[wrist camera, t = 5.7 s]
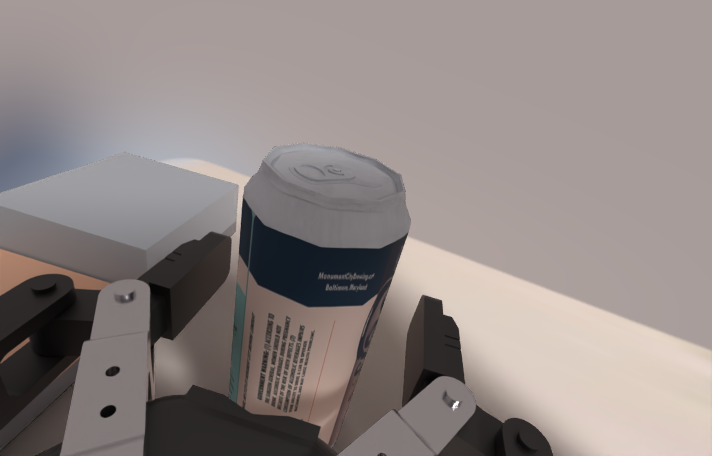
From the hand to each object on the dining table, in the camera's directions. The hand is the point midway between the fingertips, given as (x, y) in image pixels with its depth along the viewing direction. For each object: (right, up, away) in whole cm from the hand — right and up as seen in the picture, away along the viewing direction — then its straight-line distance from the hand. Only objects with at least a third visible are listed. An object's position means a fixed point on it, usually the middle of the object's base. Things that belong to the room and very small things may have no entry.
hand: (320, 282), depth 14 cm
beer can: (-2, -7, +1) cm, 7 cm away
